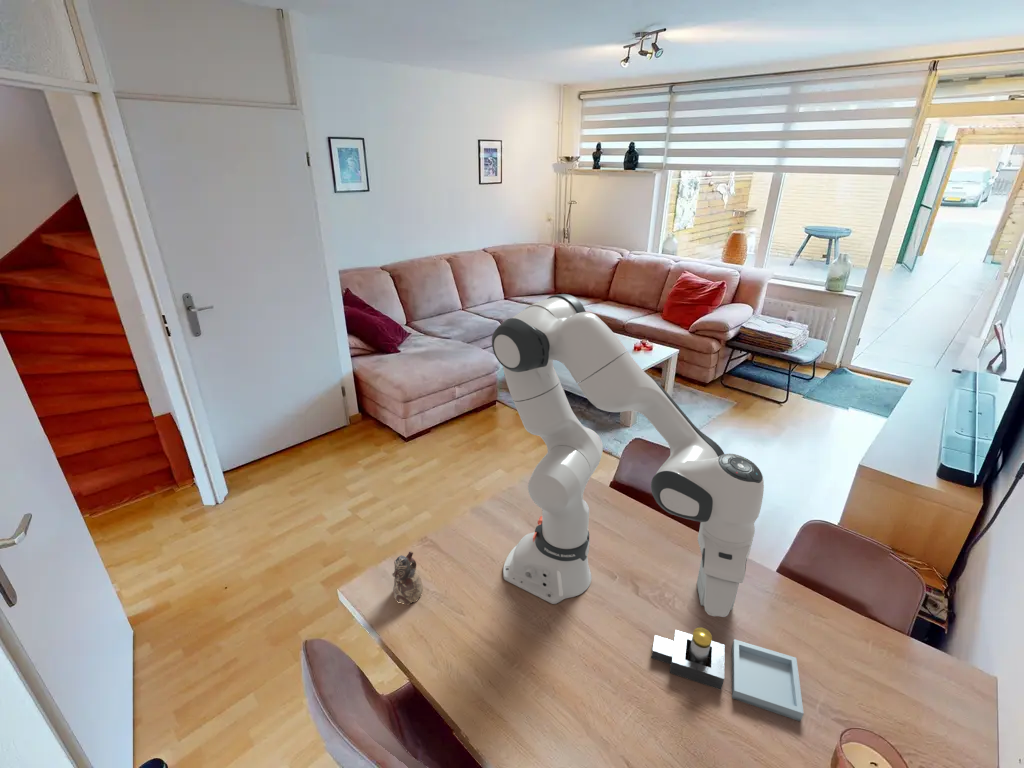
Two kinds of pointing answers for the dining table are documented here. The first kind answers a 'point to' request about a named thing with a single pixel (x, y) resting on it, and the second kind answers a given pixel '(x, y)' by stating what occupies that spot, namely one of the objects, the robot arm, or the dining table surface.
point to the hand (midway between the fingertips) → (712, 593)
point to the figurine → (406, 580)
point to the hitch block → (675, 656)
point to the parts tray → (766, 679)
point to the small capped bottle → (700, 646)
